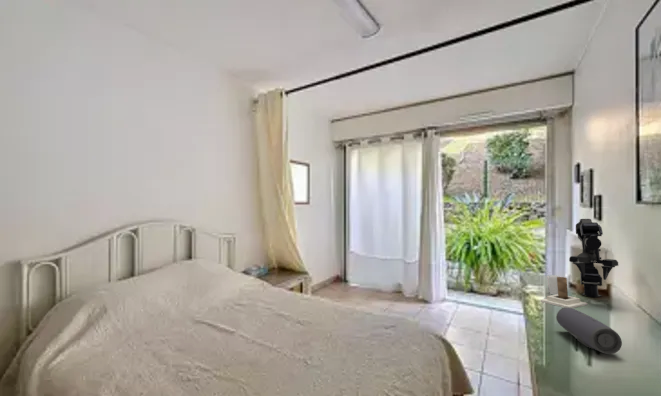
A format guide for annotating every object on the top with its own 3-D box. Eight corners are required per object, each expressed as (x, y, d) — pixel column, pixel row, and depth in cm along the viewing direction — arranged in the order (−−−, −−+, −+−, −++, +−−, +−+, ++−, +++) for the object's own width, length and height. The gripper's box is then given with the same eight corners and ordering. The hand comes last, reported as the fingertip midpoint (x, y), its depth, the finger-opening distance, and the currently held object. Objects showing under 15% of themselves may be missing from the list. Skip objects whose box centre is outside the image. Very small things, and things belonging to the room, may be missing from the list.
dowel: (564, 302, 159) (562, 276, 159) (570, 304, 155) (568, 278, 155) (556, 302, 159) (555, 277, 160) (562, 304, 155) (560, 278, 156)
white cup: (545, 294, 175) (544, 276, 175) (553, 292, 178) (552, 274, 179) (560, 297, 168) (559, 278, 168) (568, 295, 171) (567, 277, 172)
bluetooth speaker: (625, 359, 97) (623, 327, 98) (592, 357, 99) (589, 326, 100) (582, 332, 120) (580, 306, 120) (555, 331, 122) (553, 305, 122)
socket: (558, 298, 166) (557, 292, 166) (587, 305, 153) (587, 298, 153) (540, 301, 161) (540, 295, 161) (569, 308, 148) (569, 302, 148)
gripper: (561, 246, 161) (563, 276, 160) (603, 249, 144) (606, 283, 143) (575, 245, 165) (577, 274, 164) (617, 248, 148) (620, 280, 147)
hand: (593, 278), depth 154 cm, fingers open, 9 cm apart
